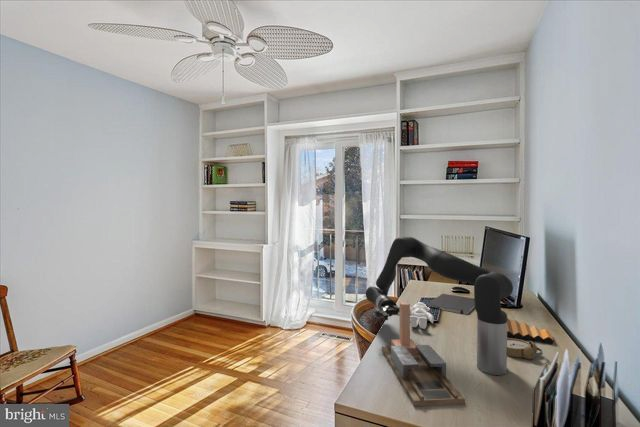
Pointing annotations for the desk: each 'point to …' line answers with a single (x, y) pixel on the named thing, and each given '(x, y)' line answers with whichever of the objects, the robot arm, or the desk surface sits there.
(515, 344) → the alarm clock
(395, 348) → the tunnel
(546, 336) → the orange corrugated panel
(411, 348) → the pink post on block
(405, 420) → the desk surface
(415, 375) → the track board
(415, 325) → the figure
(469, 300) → the notebook
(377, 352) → the desk surface
